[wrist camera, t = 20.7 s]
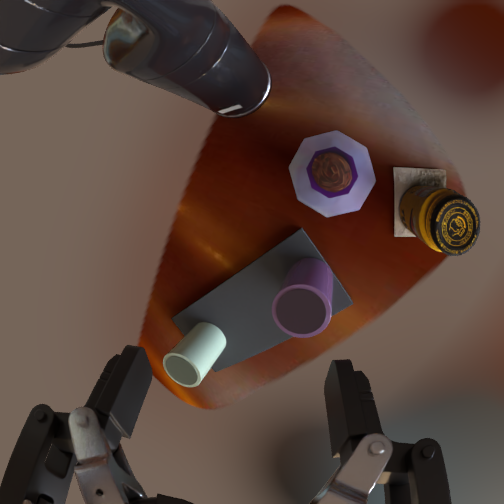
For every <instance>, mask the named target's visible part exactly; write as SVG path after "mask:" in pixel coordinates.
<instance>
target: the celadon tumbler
mask: <svg viewBox="0 0 504 504" xmlns="http://www.w3.org/2000/svg"><path fill="white" fill-rule="evenodd" d="M225 346H226V339H225V336H224V334H223V333H222V331H221V330H220V329H219V328H218V327H216V326H215V325H213V324H211V323H207V322H201V323H198V324H196V325H195V326H194V327H193V328H192V329H191V330H190V331H189V332H188V333H187V334H186V335H185V336H184V337H183V338H182V339H181V340H180V341H179V342H178V343H177V344H176V345H175V346H174V347H173V348H172V349H171V350H170V351H169V352H168V354H167V355H166V356H165V357H164V359H163V366H164V368H165V371H166V372H167V374H168V375H169V376H170V377H171V378H172V379H173V380H174V381H175V382H177V383H179V384H180V385H183V386H186V387H195V386H198V385H199V384H200V382H201V381H202V380H203V378H204V377H205V376H206V374H207V373H208V371H209V370H210V369H211V367H212V366H213V364H214V363H215V361H216V360H217V359H218V357H219V356H220V354H221V353H222V352H223V350H224V349H225Z"/></svg>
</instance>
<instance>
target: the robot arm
mask: <svg viewBox="0 0 504 504" xmlns="http://www.w3.org/2000/svg"><path fill="white" fill-rule="evenodd" d="M113 6H114V7H118V9H117V10H116V12H115V13H114V15H113V16H112V18H111V20H110V22H109V24H108V27H107V29H106V31H105V35H104V40H102V41H95V42H89V43H82V44H68V43H69V42H70V41H72V40H73V39H74V38H75V37H76V36H77V35H78V34H79V33H80V32H82V31H83V30H84V29H85V28H86V27H87V26H89V25H90V24H91V23H92V22H93V21H95V20H96V19H97V18H98V17H100V16H101V15H102V14H103V13H105V12H106V11H107V10H108V9H110V8H111V7H113ZM95 45H103V55H104V58H105V61H106V62H107V64H108V65H109V66H110V67H111V68H112V69H113V70H115V71H117V72H119V73H121V74H123V75H126V76H129V77H132V78H135V79H138V80H140V81H143V82H146V83H148V84H151V85H154V86H156V87H159V88H162V89H164V90H167V91H169V92H172V93H174V94H176V95H179V96H181V97H183V98H186V99H188V100H191V101H193V102H195V103H197V104H199V105H201V106H204V107H205V108H208V109H210V110H212V111H213V112H215V113H216V114H218V115H221V116H223V117H227V118H239V117H244V116H247V115H249V114H251V113H253V112H255V111H256V110H257V109H259V108H260V107H261V106H262V105H263V104H264V103H265V101H266V100H267V98H268V96H269V94H270V91H271V86H272V80H271V75H270V72H269V70H268V69H267V67H266V66H265V65H264V63H263V62H262V61H261V60H260V59H259V57H258V56H257V55H256V53H255V52H254V51H253V49H252V48H251V47H250V45H249V44H248V43H247V42H246V40H245V39H244V38H243V36H242V35H241V34H240V33H239V32H238V30H237V29H236V28H235V27H234V25H233V24H232V23H231V22H230V21H229V20H228V18H227V17H226V16H225V15H224V14H223V13H222V12H221V10H220V9H219V8H218V7H217V6H216V5H215V4H214V3H213V2H212V1H211V0H0V75H3V74H13V73H19V72H24V71H27V70H30V69H33V68H36V67H38V66H40V65H42V64H43V63H45V62H47V61H48V60H49V59H51V58H52V57H54V56H55V55H56V54H57V53H58V52H60V51H61V50H62V49H63V48H64V47H69V48H81V47H89V46H95ZM151 380H152V368H151V366H150V363H149V360H148V357H147V355H146V352H145V349H144V348H143V347H137V346H131V345H127V346H126V347H125V348H124V350H123V352H122V353H121V355H117V354H116V355H115V356H114V357H113V358H112V359H110V360H109V361H108V363H107V365H106V366H105V368H104V371H103V372H102V374H101V376H100V379H98V381H97V383H96V385H95V387H94V389H93V391H92V393H91V395H90V397H89V399H88V401H87V403H86V405H85V406H84V407H79V408H77V409H75V410H74V411H72V413H62V412H54V411H53V410H52V409H51V408H50V407H49V406H48V405H45V404H39V405H37V406H35V407H34V408H33V409H32V411H31V412H30V414H29V417H28V418H27V421H26V423H25V425H24V427H23V429H22V431H21V434H20V436H19V438H18V441H17V443H16V445H15V448H14V450H13V453H12V455H11V458H10V460H9V463H8V466H7V468H6V471H5V474H4V477H3V480H2V483H1V486H0V504H65V501H66V498H67V494H68V490H69V487H70V483H71V480H72V476H73V473H74V472H75V475H76V479H77V481H78V485H79V487H80V491H81V493H82V496H83V499H84V501H85V504H193V503H191V502H188V501H186V500H183V499H178V498H173V497H170V496H165V495H161V494H157V497H150V498H148V497H147V495H146V493H145V491H144V490H143V488H142V486H141V485H140V484H139V482H138V481H137V480H136V478H135V476H134V474H133V472H132V470H131V468H130V466H129V463H128V461H127V459H126V456H125V454H124V451H123V449H122V446H121V444H120V440H121V437H122V436H123V437H126V438H129V439H130V438H131V435H132V432H133V429H134V426H135V423H136V421H137V418H138V415H139V412H140V410H141V407H142V404H143V401H144V399H145V396H146V394H147V391H148V388H149V386H150V383H151ZM324 395H325V401H326V409H327V417H328V425H329V433H330V442H331V451H332V458H336V457H340V462H341V464H340V466H339V467H338V469H337V470H336V471H335V473H334V474H333V475H332V477H331V478H330V479H329V481H328V482H327V483H326V484H325V486H324V487H323V488H322V490H321V491H320V492H319V493H318V494H317V496H316V497H315V498H314V499H313V500H312V501H311V502H310V503H309V504H367V501H368V500H367V497H368V495H369V493H370V492H371V490H372V488H373V487H374V485H375V484H376V483H377V484H384V492H385V504H451V497H450V490H449V484H448V479H447V474H446V469H445V464H444V459H443V455H442V451H441V447H440V445H439V444H438V443H437V441H435V440H433V439H430V438H425V439H421V440H419V441H418V442H417V443H415V444H408V443H398V442H394V441H391V440H390V439H389V438H388V437H386V436H385V435H384V433H383V431H382V429H381V425H380V421H379V417H378V413H377V409H376V405H375V401H374V400H373V399H374V398H373V394H372V392H371V387H370V383H369V380H368V379H367V377H366V376H365V375H364V373H363V372H362V371H354V370H353V366H352V362H351V361H350V360H348V359H347V360H332V362H331V365H330V368H329V371H328V375H327V377H326V380H325V386H324ZM51 444H52V445H51ZM50 447H51V448H50ZM49 449H50V450H49ZM48 452H49V453H48ZM47 455H48V456H47ZM46 457H47V458H46ZM45 460H46V461H45Z"/></svg>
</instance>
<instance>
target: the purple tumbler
mask: <svg viewBox="0 0 504 504" xmlns="http://www.w3.org/2000/svg"><path fill="white" fill-rule="evenodd" d="M333 280H334V279H333V274H332V271H331V269H330V268H329V267H328V265H327V264H325V263H324V262H323V261H321V260H319V259H315V258H304V259H301V260H299V261H297V262H296V263H295V264H294V265H293V266H292V267H291V268H290V270H289V272H288V274H287V276H286V278H285V279H284V281H283V283H282V285H281V287H280V289H279V291H278V292H277V294H276V296H275V298H274V300H273V303H272V316H273V319H274V321H275V323H276V324H277V326H278V327H279V328H280V329H281V330H282V331H284V332H285V333H287V334H289V335H291V336H295V337H301V338H305V337H311V336H314V335H317V334H318V333H320V332H321V331H323V330H324V329H325V328H326V326H327V325H328V323H329V321H330V319H331V313H332V298H333Z"/></svg>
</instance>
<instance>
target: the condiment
mask: <svg viewBox="0 0 504 504" xmlns="http://www.w3.org/2000/svg"><path fill="white" fill-rule="evenodd" d="M393 170H394V192H395V194H394V195H395V221H394V224H395V226H394V237H418V238H419V239H421V240H422V241H423V242H424V243H425V244H426V245H428V246H429V247H431V248H432V249H434V250H436V251H440V252H443V253H445V254H447V255H450V256H458V255H462V254H464V253H466V252H467V251H468V250H469V249H471V248H472V246H474V244H475V242H476V240H477V238H478V235H479V232H480V218H479V213H478V211H477V209H476V208H475V206H474V204H473V203H472V202H471V200H469V199H468V198H467V197H464V196H463V195H460V194H459V193H457V192H456V191H454V190H451V189H448V188H446V170H438V169H422V168H401V167H393Z"/></svg>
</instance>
